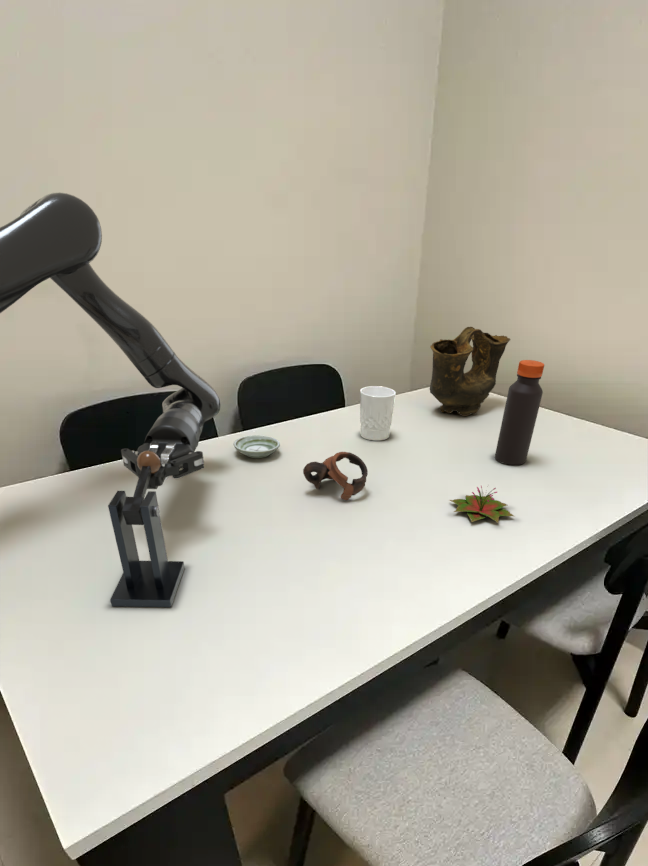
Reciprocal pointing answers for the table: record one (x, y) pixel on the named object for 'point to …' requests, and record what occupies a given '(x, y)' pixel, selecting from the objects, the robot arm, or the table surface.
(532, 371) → the bottle
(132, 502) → the lever
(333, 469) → the brown curved ring piece
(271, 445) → the saucer
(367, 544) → the table surface
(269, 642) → the table surface
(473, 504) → the lily flower
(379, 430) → the white cup
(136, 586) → the bracket
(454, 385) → the pottery vessel
